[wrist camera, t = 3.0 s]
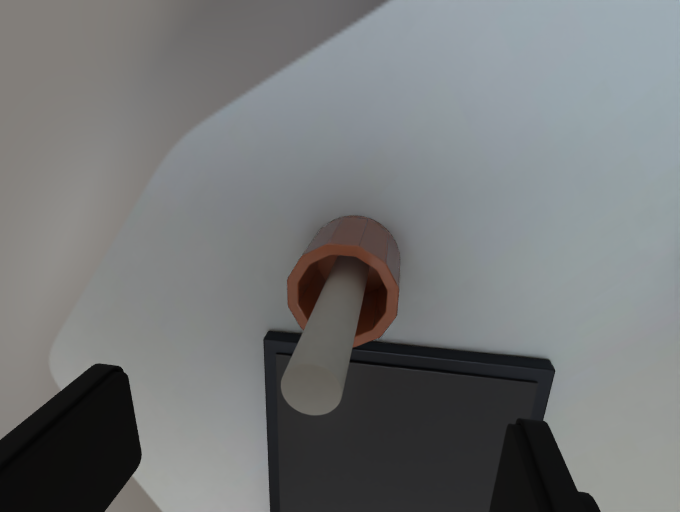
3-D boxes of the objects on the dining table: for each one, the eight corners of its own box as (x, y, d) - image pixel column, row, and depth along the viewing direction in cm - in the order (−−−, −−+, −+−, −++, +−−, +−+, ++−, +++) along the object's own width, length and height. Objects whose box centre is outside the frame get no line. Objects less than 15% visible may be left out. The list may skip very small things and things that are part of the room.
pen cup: (311, 294, 23) (287, 341, 19) (311, 212, 22) (286, 240, 17) (395, 302, 23) (393, 352, 18) (402, 218, 21) (402, 249, 16)
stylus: (336, 275, 22) (280, 412, 12) (337, 244, 21) (279, 360, 11) (369, 278, 22) (341, 419, 12) (371, 246, 21) (343, 367, 11)
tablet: (276, 559, 31) (271, 576, 30) (268, 330, 24) (261, 341, 23) (492, 598, 29) (496, 617, 28) (549, 359, 22) (557, 372, 21)
